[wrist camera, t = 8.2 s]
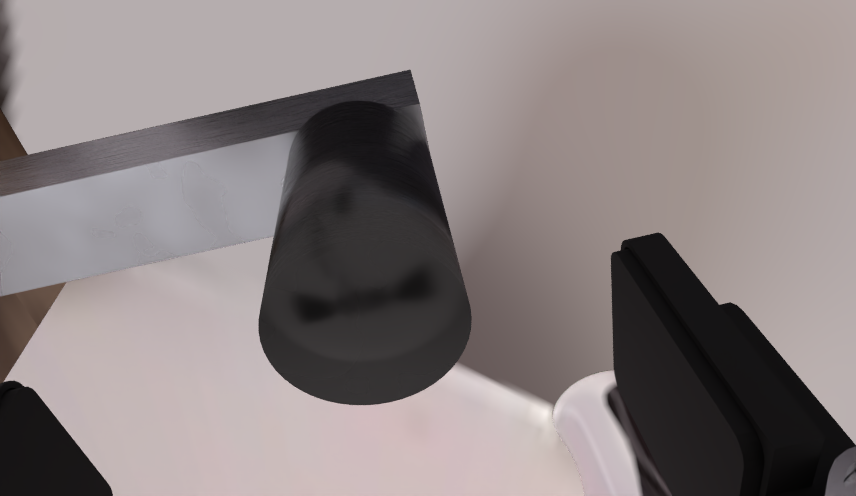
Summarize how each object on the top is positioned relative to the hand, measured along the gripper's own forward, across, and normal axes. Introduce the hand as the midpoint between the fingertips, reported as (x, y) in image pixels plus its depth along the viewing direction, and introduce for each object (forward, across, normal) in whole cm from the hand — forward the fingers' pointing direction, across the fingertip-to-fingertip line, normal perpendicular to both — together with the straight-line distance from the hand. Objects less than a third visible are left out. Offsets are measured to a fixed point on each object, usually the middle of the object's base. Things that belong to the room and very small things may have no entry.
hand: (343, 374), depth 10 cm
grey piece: (+12, +7, +1) cm, 14 cm away
